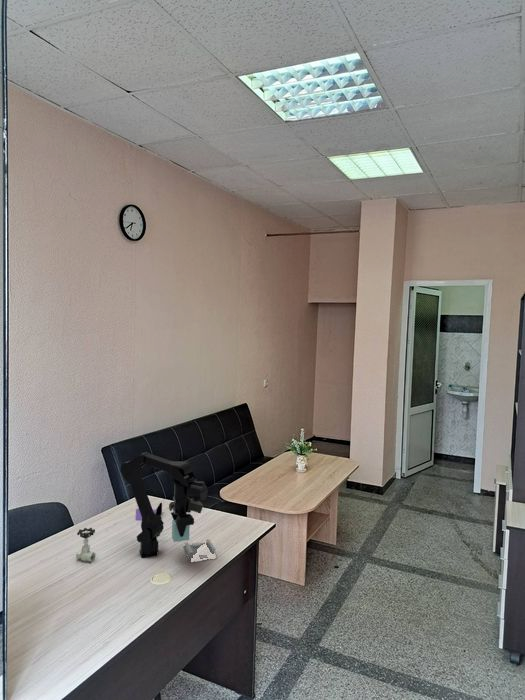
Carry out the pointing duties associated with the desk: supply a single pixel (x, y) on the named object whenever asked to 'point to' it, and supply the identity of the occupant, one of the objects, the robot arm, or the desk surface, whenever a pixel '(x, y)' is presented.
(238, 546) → the desk surface
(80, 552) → the valve
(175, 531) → the block
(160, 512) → the toy room diorama
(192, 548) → the plate
